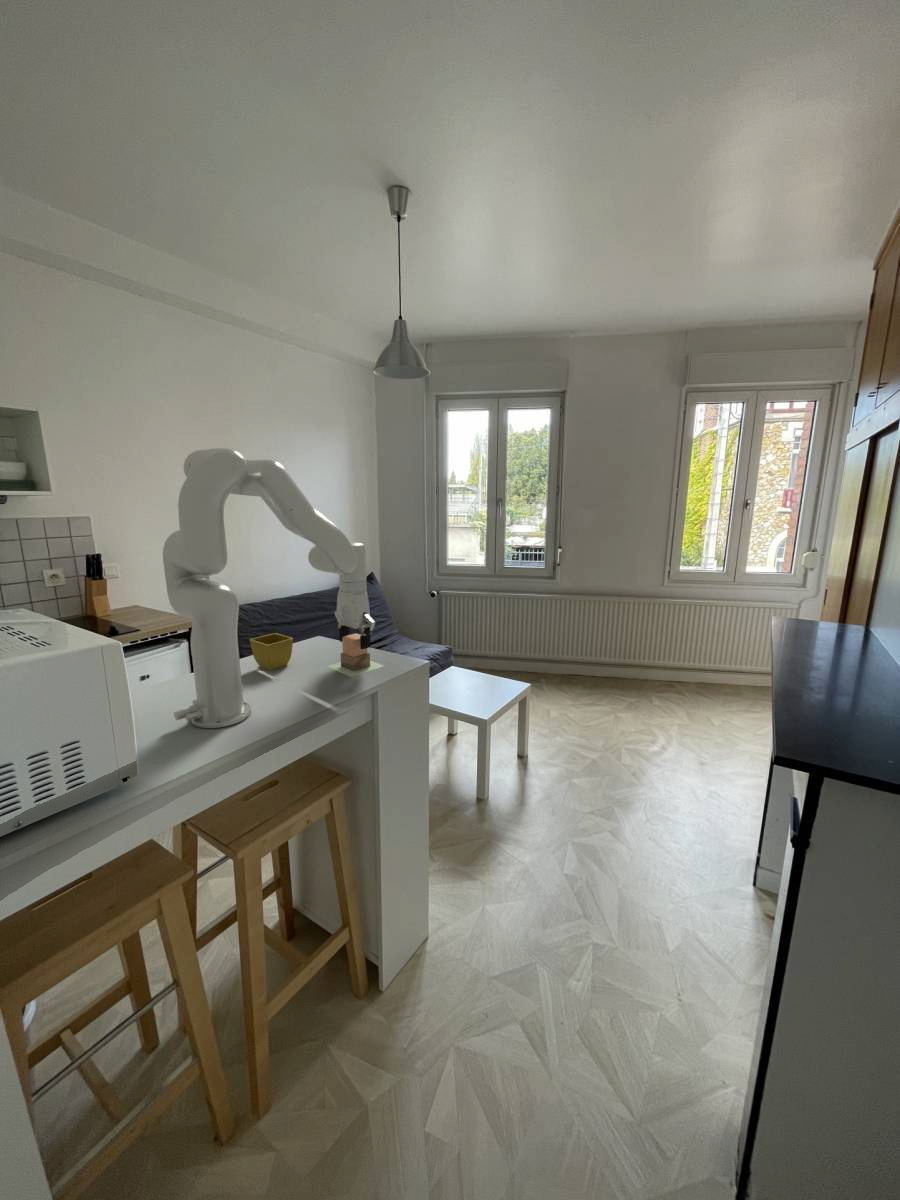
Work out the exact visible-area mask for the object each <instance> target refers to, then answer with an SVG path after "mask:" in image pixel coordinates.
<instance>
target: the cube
mask: <svg viewBox="0 0 900 1200" xmlns="http://www.w3.org/2000/svg"><path fill="white" fill-rule="evenodd" d="M361 635H362V634H361V633H360V634H359V633H352V634H349V635H348V636H344V637H342V642H341V643H342V653H343V654H346V655H349V656H351V657H356V656H360V655H363V654H366V653H367V652H368V648H366V649H361V647H360V636H361Z"/></svg>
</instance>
